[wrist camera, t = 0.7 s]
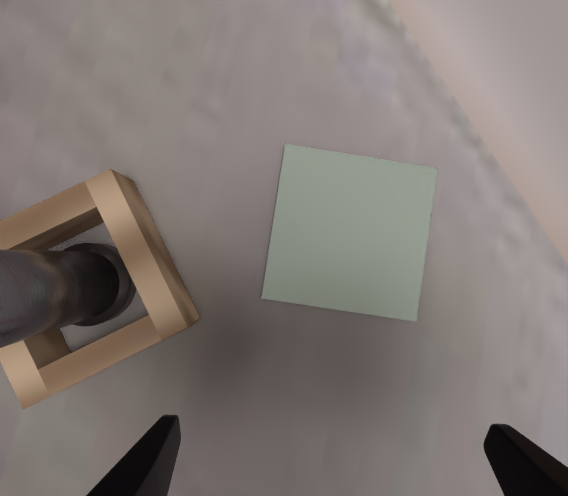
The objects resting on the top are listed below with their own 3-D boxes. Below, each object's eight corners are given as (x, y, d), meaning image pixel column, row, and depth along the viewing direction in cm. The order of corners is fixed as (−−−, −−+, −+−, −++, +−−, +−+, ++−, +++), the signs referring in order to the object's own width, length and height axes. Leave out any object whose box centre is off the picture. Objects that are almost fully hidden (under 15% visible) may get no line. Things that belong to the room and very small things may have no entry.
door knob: (110, 336, 22) (-119, 447, 9) (42, 297, 22) (-284, 356, 9) (150, 268, 22) (-20, 285, 9) (83, 229, 22) (-180, 194, 9)
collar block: (200, 317, 22) (187, 327, 19) (58, 387, 21) (23, 409, 18) (133, 180, 22) (110, 168, 19) (-8, 248, 22) (-55, 246, 19)
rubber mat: (413, 320, 22) (416, 321, 22) (261, 297, 22) (261, 298, 21) (433, 170, 22) (437, 168, 22) (285, 146, 22) (285, 143, 22)
